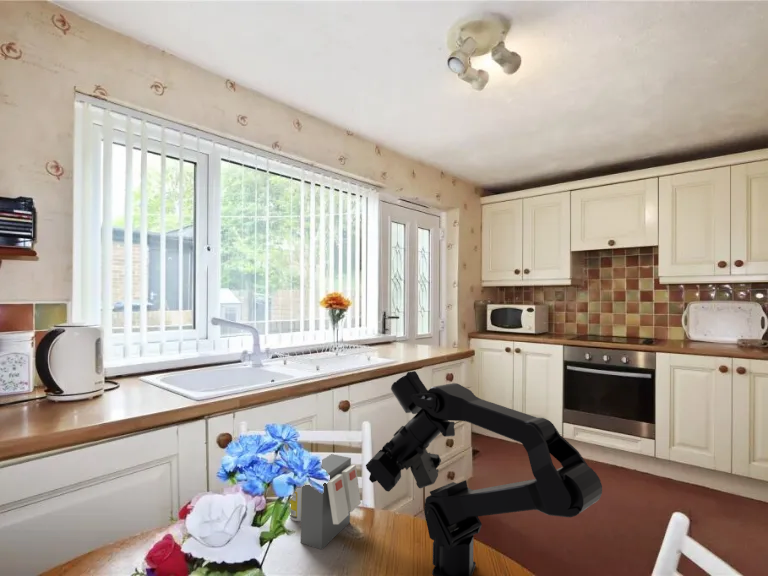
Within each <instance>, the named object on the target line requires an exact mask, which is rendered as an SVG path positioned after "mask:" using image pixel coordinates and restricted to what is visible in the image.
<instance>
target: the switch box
mask: <svg viewBox="0 0 768 576" xmlns="http://www.w3.org/2000/svg"><path fill="white" fill-rule="evenodd" d="M321 460H322V467H323V469H325V470H326V471H327V473H328V474H329V475H330V479H332V478H333V477H334V476H336V475H337V474H342V471H343V470H345V469H346V468H348V467H349V466H350V465H352V457H348V456H345V455H344V456H343V455H338V454H333V453H331V454H329V455H328V456H326V457H324V458H323V459H321ZM323 486H324V493H323V494H321V493H319V492H317V491H316V490H314V489H313V488H312V487H311V486H310V485H305V486H303V487H302V504H301V521H300V544H303V545H306V546H309V547H313V548H316V549H318V550H319V549H320V550H322V549H324V548H325V547H326V546H327V545H328V544H329V543H330V542H331V541H333V539H335V537H336V536H337V535H339V533H340V532H342V531H343V530H344V529H345V527H347V526H348V525H349V524H350V522H351V512H348V513H349V515H348V516H347V517H346V518H345V519H344V520H343V521H342V522H340V523H339V524H333V519H332V513H331V506H330V500H329V493H328V486H327V484H326V483H324V484H323Z"/></svg>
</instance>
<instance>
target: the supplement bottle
mask: <svg viewBox="0 0 768 576" xmlns="http://www.w3.org/2000/svg"><path fill="white" fill-rule="evenodd" d="M290 503H291V515H290V514H289V518H290V520H292V521H294V520H295V521H294V522H301V504H302V487H301V488H297V489H296V491H295V493H294V494H293V497H292V498H291V501H290V500H289V504H290Z"/></svg>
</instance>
